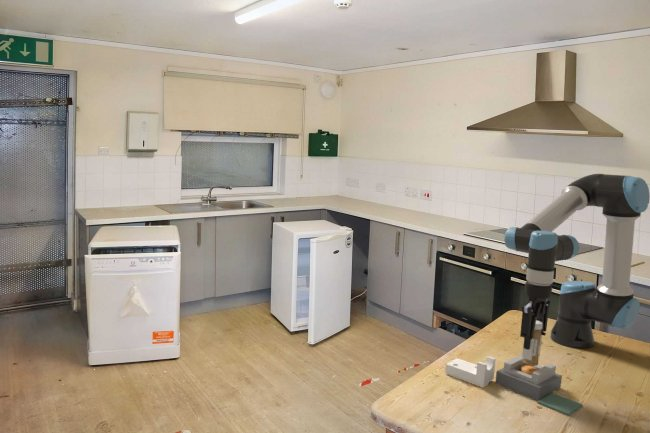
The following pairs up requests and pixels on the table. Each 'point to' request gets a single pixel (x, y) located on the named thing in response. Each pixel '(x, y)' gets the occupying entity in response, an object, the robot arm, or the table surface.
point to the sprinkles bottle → (535, 345)
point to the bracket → (472, 371)
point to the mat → (560, 404)
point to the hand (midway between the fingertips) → (530, 356)
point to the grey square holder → (528, 379)
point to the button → (528, 369)
